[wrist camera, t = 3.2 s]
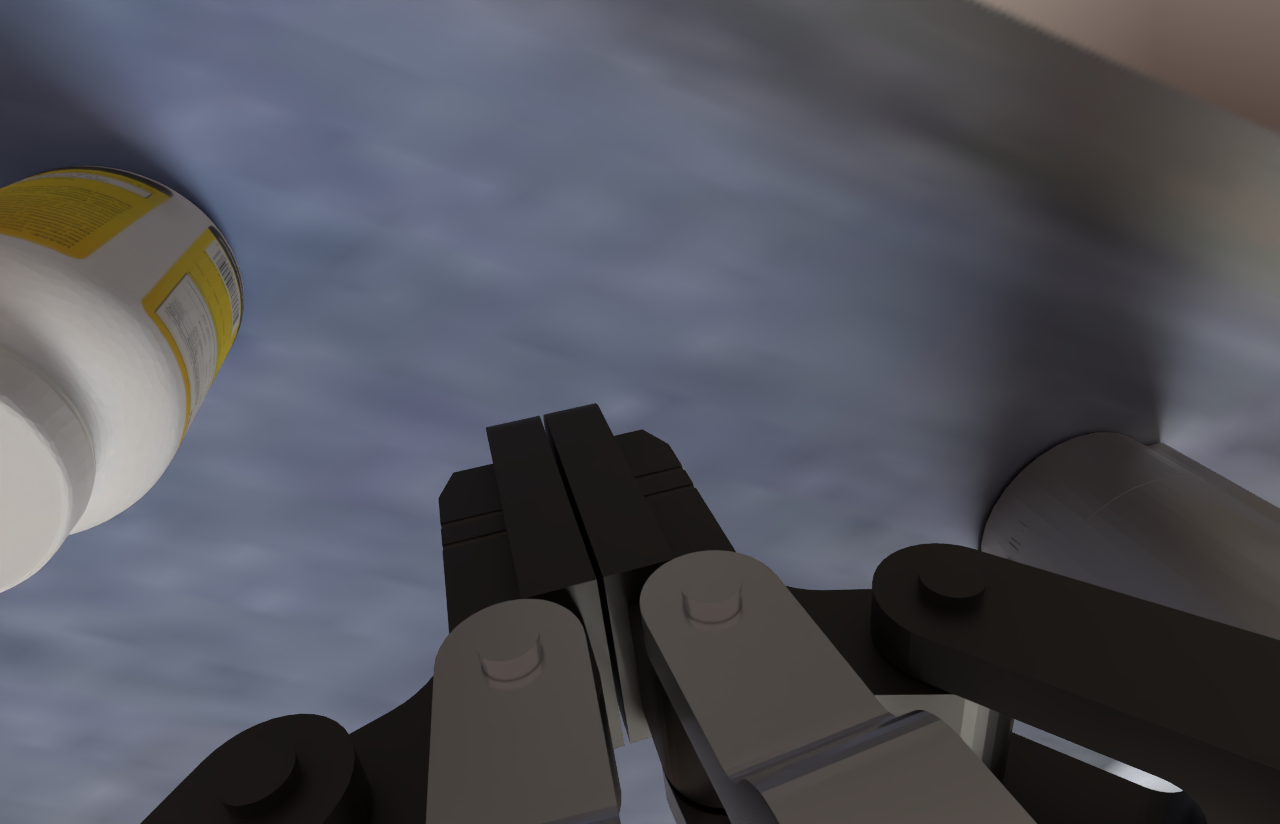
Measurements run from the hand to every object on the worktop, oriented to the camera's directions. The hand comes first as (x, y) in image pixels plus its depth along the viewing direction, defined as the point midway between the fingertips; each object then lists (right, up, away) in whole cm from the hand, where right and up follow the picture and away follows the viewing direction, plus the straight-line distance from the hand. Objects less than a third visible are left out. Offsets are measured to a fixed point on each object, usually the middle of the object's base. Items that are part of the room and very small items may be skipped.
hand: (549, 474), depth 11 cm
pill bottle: (-14, +5, +12) cm, 19 cm away
